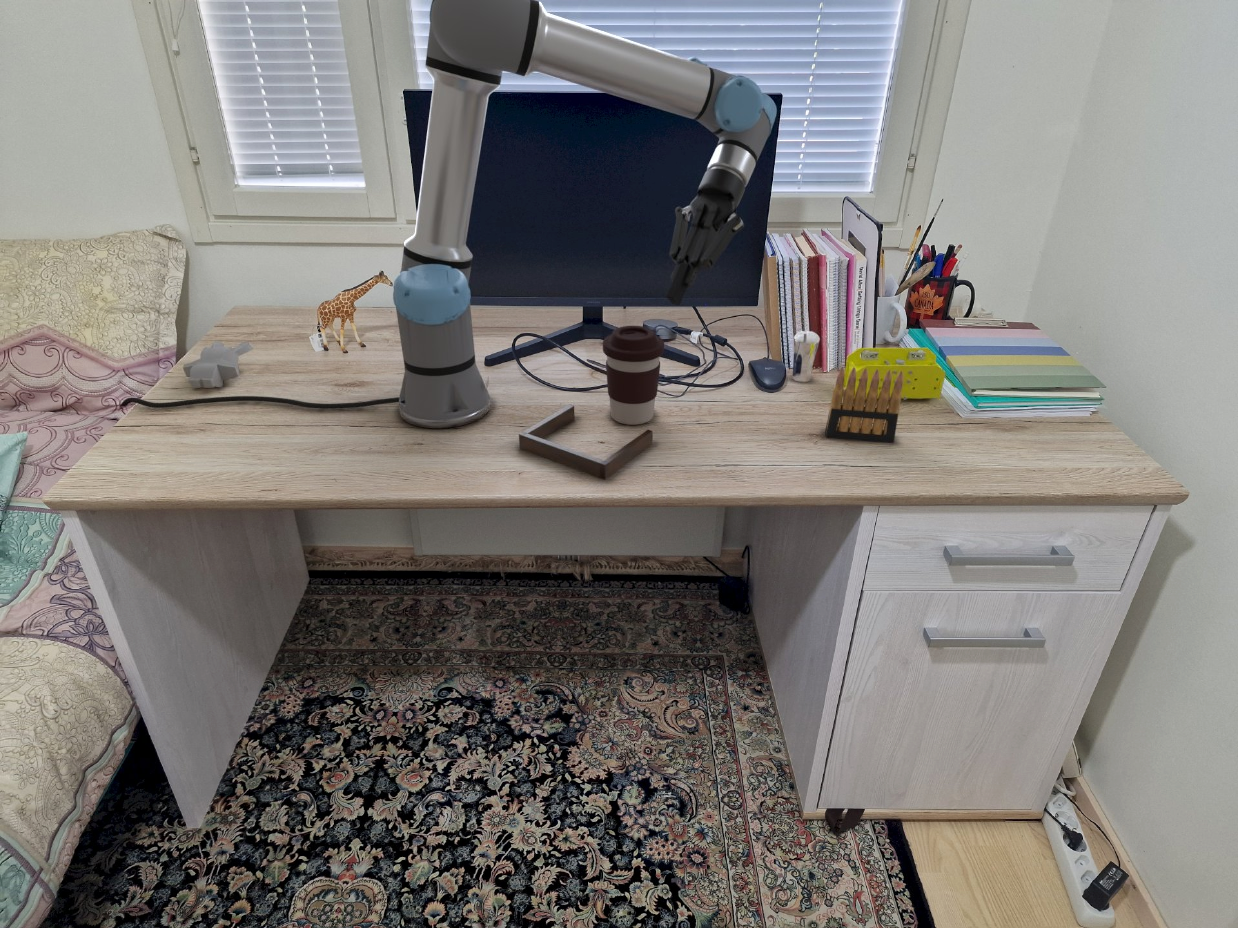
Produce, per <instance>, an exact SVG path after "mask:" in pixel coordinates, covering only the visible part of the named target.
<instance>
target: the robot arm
mask: <svg viewBox="0 0 1238 928" xmlns="http://www.w3.org/2000/svg"><path fill="white" fill-rule="evenodd" d="M427 38H428V40H427V48H426V55H425V64H424V67H425V69H426V71H427V72H428V74H429V75H430V77H431V79H432V83H433V85H432V93H431V98H430V99H431V100H430V109H429V115H428V116H429V117H428V124H427V132H426V140H425V148H424V157H423V163H422V173H421V180H420V189H419V197H418V205H417V212H416V213H417V214H416V221H415V227H414V228H415V230H414V234H413V235H412V236H410V237H408V238H407V239H406V240H405V241H404V242H403V249H402V250H403V252H402V260H401V267H400V271H399V274H398V275H397V276H396V277H395V279H394V281H393V292H392V300H393V304H394V306H395V309H396V310H395V311H396V318H397V324H398V330H399V338H400V345H401V351H402V360H403V366H404V373H403V379H402V383H401V387H400V388H401V389H400V393H399V396H397V397H389V398H388V397H387V398H380V399H372V400H365V401H358V402H357V401H356V402H342V403H341V402H340V403H322V402H321V403H319V402H308V401H301V400H297V399H291V398H285V397H284V398H283V397H275V396H262V395H261V396H260V395H259V396H258V395H234V396H233V395H231V396H230V395H229V396H216V397H205V398H203V397H202V398H194V399H193V398H192V399H185V400H177V401H167V402H152V401H148V400H144V399H142V398H137V397H128V398H125V399H124V400H122V402H121V404H120V406H119V407H123V408H124V407H127V406H128V405H129V404H131V403H132V404H138V405H141V406H144V407H147V408H148V407H149V408H153V409H163V408H164V409H166V408H175V407H176V408H177V407H183V406H184V407H185V406H190V405H192V406H193V405H200V404H201V405H203V404H212V403H213V404H214V403H226V402H263V403H264V402H265V403H275V404H276V403H277V404H285V405H292V406H297V407H302V408H310V409H320V410H321V409H322V410H323V409H325V410H327V409H328V410H329V409H332V410H334V409H353V408H365V407H372V406H379V405H388V404H395V403H396V404H397V403H398V409H399V415H400V417H401V418H402V419H403V420H404V421H405V422H406V423H407V424H410V425H413V426H415V427H420V428H426V429H449V428H456V427H460V426H465V425H468V424H471V423H473V422H476V421H478V420H479V419H481V418H483V417H484V416H485V415H486V414H487V413H488V412H489V410H490V409H491V397H490V392H489V390H488V387H489V385H490V376H489V375H488V377H487V379H486V381H484V379H483V377H482V375H481V373H480V370H479V368H478V366H477V363H476V350H475V341H474V340H475V339H474V331H473V329H474V328H473V319H472V310H471V309H472V308H471V300H472V299H471V295H472V294H471V289H470V286H469V285H470V284H469V283H470V277H471V271H472V265H473V257H474V254H473V253H472V251H470V249H469V247H468V246H467V238H468V232H469V225H470V219H471V211H472V205H473V199H474V193H475V188H476V187H475V186H476V185H475V184H476V181H477V173H478V166H479V161H480V155H481V147H482V141H483V135H484V128H485V123H486V115H487V109H488V103H489V97H490V95H491V94H492V93H494V92H495V91H497V90H498V89H499V88H501V82H502V76H503V72H506V73H510V74H515V75H518V76H521V77H525V78H527V77H528V76H530V75H532V74H533V73H538V74H542V75H545V76H548V77H551V78H555V79H558V80H561V81H563V82H564V81H565V82H568V83H571V84H575V85H578V86H581V87H585V88H588V89H592V90H593V91H598V92H601V93H605V94H608V95H612V96H614V97H618V98H622V99H624V100H628V101H631V102H635V103H638V104H641V105H645V106H648V107H651V108H653V109H654V108H655V109H658V110H661V111H665V112H668V113H671V114H674V115H678V116H681V117H684V118H687V119H692V120H695V121H697V122H698V123H699V124H701V126H704V127H705V128H706V129H707V130H709V131H710V132H711V134H713V135H714V136H716V137H717V138H718V142H717V144H716V147H715V149H714V152H713V154H712V156H711V158H710V159H709V160H710V161H709V163H708V164H707V167H706V170H705V172H704V174H703V177H702V180H701V181H700V183H699V186H698V188H697V192H696V196H695V197H694V198H693V200H691V202H690V204H689V205H687V206H685V207H683V208H682V206H677V207H675V209H674V212H675V217H676V219H675V223H674V224H675V225H674V230H673V235H672V239H671V243H670V244H671V245H670V250H669V255H668V256H669V258H671V260H672V261H673V262H674V264H675V266H674V269H672V273H671V275H670V281H671V285H670V287H669V289H668V291H667V294H666V298H667V300H668V301H669V302H670V303H671V304H672V305H675V306H680V305H681V303H682V300H683V299H684V296H685V294H686V291H687V289H688V288H692V286H693V285H694V283H695V280H696V278H697V276H698V274H699V272H700V271H702V270H706V271H709V270H711V269H712V268H713V267H714V265H715V264H716V262H717V261H718V259H719V258H720V256H721V255H722V254H723V253H724V251H725V250H726V248H727V247H728V245H729V244H730V242H732V240H733V238H734V237H735V235H737V234H738V233H739V232H740V231H742V230H743V229H744V228H745V223H744V222H743V219H742V217H741V216H740V214H739V215H737V208H738V206H739V205H740V202H741V200H742V198H743V196H744V193H745V191H746V187H747V185H748V184H749V181H750V179H751V176H752V175H753V173H754V170H755V168H756V165H757V163H758V160H759V158H760V156H761V153H762V151H763V149H764V147H765V145H766V142H767V140H768V139H769V137H770V135H771V133H772V129H773V126H774V123H775V121H776V118H777V111H778V110H777V105H776V103H775V101H774V100H773V99H772V98H771V96H770V95H768V94H766V93H763V92H762V89H761V88H760V86H759V85H758V84H757V83H756V82H755V81H753V80H752V79H750V78H749V77H747V76H744V75H740V74H739V75H736V74H732V73H729V72H726V71H724V70H720V69H717V68H714V67H710V66H708V63H704V62H703V61H702V60H700V59H699V58H697V57H696V56H690V57H688V58H684V57H681V56H678V55H675V54H672V53H670V52H666V51H663V50H660V49H657V48H654V47H651V46H648V45H645V44H642V43H639V42H636V41H634V40H633V41H632V40H630V39H627V38H625V37H620V36H618V35H615V34H612V33H609V32H606V31H603V30H600V29H597V28H593V27H591V26H588V25H585V24H582V23H579V22H576V21H573V20H570V19H567V18H563V17H561V16H558V15H556V14H555V15H554V14H551V13H549V12H547V10H546V9H545V7H544V5H543V3H542V2H541V1H538V0H431V4H430V7H429V31H428V37H427ZM690 218H692V220H691V219H690ZM690 220H691V222H690ZM688 222H690V228H689V230H688V227H689V226H688V224H689V223H688ZM687 232H688V233H687Z"/></svg>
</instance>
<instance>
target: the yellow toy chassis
mask: <svg viewBox="0 0 1238 928" xmlns="http://www.w3.org/2000/svg"><path fill="white" fill-rule="evenodd" d="M937 357H938V356H937V354H935V353H934V352H933V351H932V350H931V349H930V348H929V347H858V348H857V349H855V350H854V351H852V352H851V353H849V354H848V355H847V356H846V361H845V368H844V372H845V378H844V387H843V388H844V391H845V390H846V387H847V383H848V379H849V375H850V373H851V371H852V369H853V368H855V370H856V383H855V395H856V392H857V389H858V385H859V381H860V378H861V375H862V373H863V371H864V369H865V368H866V369H867V373H868V380H867V388H866V398H867V394H868V391H869V388H870V385H871V380H872V377H873V375H874V373H875V371H876V370H877V369H878V370H879V385H878V397H879V394H880V392H881V388H882V385H883V381H884V378H885V375H886V373H887V372H888V371H889V370H890V371H891V385H890V397H891V394H892V392H893V388H894V385H895V381H896V378H897V376H898V374H899V373H900V371H902V372H903V386H902V393H901V399H903V400H904V401H906V400H908V399H911V400H912V399H913V400H923V399H940V398H941V395H942V389H943V386H944V381H945V377H946V371H945V370H944V369H943V368H942V367H941V365H940V364H938V362H936V361H937ZM878 397H877V399H878ZM890 397H889V401H890ZM854 400H855V396H854ZM865 401H866V399H865Z"/></svg>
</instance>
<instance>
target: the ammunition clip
mask: <svg viewBox="0 0 1238 928" xmlns="http://www.w3.org/2000/svg"><path fill="white" fill-rule="evenodd" d="M844 378H845V368H844V366H841V367H840V368H839V371H838V373H837V376H836V379H835V380H836V381H835V385H834V389H833V391H832V395H831V401H830V407H829V411H828V416H827V421H826V423H825V424H826V425H825V430H824V434H825V435H824V436H825V438H831V439H844V440H854V441H856V440H857V441H864V442H877V443H891V444H894V443H895V439H896V438H895V437H896V432H897V427H898V426H897V425H898V419H899V411H900V407H901V402H902V401H901V400H902V398H901V393H902V386H903V372H902V371H900V373H899V374H898V376H897V378H896V381H895V385H894V388H893V392H892V394H891V397H890V385H891V371H890V370H889V371H888V372H887V373H886V375H885V378H884V381H883V385H882V388H881V392H880V394H879V397H878V385H879V370H878V369H877V370H876V371H875V373H874V375H873V377H872V380H871V385H870V388H869V391H868V394H867V398H866V388H867V380H868V373H867V369H866V368H865V369H864V371H863V373H862V375H861V378H860V381H859V385H858V389H857V392H856V395H855V383H856V370H855V368H853V369H852V371H851V373H850V375H849V379H848V383H847V387H846V390H845V389H844V388H845V387H844ZM854 396H855V399H854ZM877 397H878V398H877ZM889 397H890V400H889ZM865 399H866V400H865Z"/></svg>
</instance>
